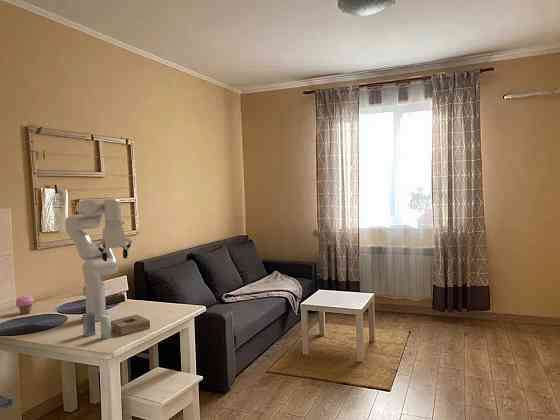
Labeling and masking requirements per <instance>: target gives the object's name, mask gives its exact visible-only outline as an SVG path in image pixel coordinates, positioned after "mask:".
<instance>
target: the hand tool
mask: <svg viewBox="0 0 560 420" xmlns="http://www.w3.org/2000/svg"><path fill="white" fill-rule="evenodd" d="M125 301H126V296H125V294H124V293H120V294H118V295H112V296H110V297H105V304H106V306H107V305H111V304H117V303H120V302H123V303H124V302H125Z"/></svg>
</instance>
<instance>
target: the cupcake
mask: <svg viewBox="0 0 560 420" xmlns="http://www.w3.org/2000/svg"><path fill="white" fill-rule="evenodd" d="M34 302H35V300H34V298H33V297H32V296H31V295H22V296H19V297H18V298H17V299H16V300H15V305H16V306H17V307H18V310H19V313H20V314H21V315H24V314H27V313H28V314H30V312H31V311H32V307H33V304H34Z"/></svg>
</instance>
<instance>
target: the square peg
mask: <svg viewBox="0 0 560 420" xmlns="http://www.w3.org/2000/svg"><path fill="white" fill-rule="evenodd" d="M82 329H83V330H82V332H83V336H85V337H86V338H87V337H92V336H95V335H96V321H95V315H94V313H92V312H90V313H86V312H85V313H82Z"/></svg>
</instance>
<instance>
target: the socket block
mask: <svg viewBox="0 0 560 420" xmlns="http://www.w3.org/2000/svg"><path fill="white" fill-rule="evenodd" d="M149 329H151V320H150V319H147V318H145V317H143V316H141V315H139V314H132V315H130V316H125V317H122V318H116V319H111V332H112V331H113V332H115V333H116V334H118V335H119V336H121V337H122V336H127V335H130V334H134V333H138V332H141V331H145V330H149Z"/></svg>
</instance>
